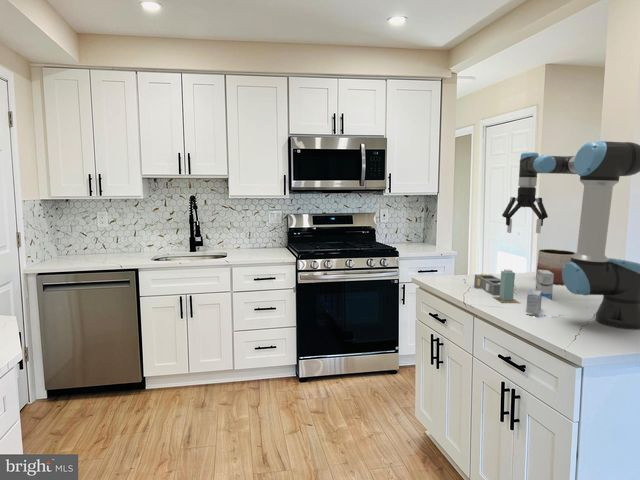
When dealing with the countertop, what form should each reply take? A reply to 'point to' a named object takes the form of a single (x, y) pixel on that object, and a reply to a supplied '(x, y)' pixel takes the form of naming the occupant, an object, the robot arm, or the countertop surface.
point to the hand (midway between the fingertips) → (523, 232)
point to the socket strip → (488, 283)
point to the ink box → (545, 283)
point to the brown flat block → (505, 301)
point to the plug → (507, 285)
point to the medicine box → (534, 302)
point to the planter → (553, 262)
